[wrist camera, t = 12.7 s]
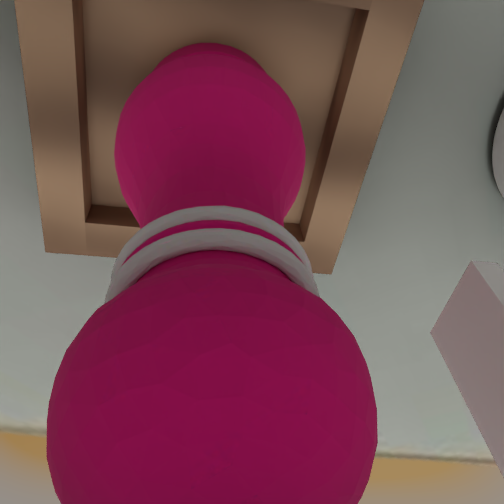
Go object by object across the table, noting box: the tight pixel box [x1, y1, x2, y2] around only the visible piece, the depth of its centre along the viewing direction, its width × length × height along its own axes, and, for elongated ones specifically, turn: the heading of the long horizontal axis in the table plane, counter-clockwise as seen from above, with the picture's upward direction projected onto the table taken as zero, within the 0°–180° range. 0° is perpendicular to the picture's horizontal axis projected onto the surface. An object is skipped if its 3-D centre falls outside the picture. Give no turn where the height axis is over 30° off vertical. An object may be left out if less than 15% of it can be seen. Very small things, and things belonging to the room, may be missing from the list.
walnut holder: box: [14, 0, 424, 274], centre depth 21 cm, size 15×15×2 cm
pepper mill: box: [47, 43, 378, 504], centre depth 14 cm, size 7×7×20 cm
